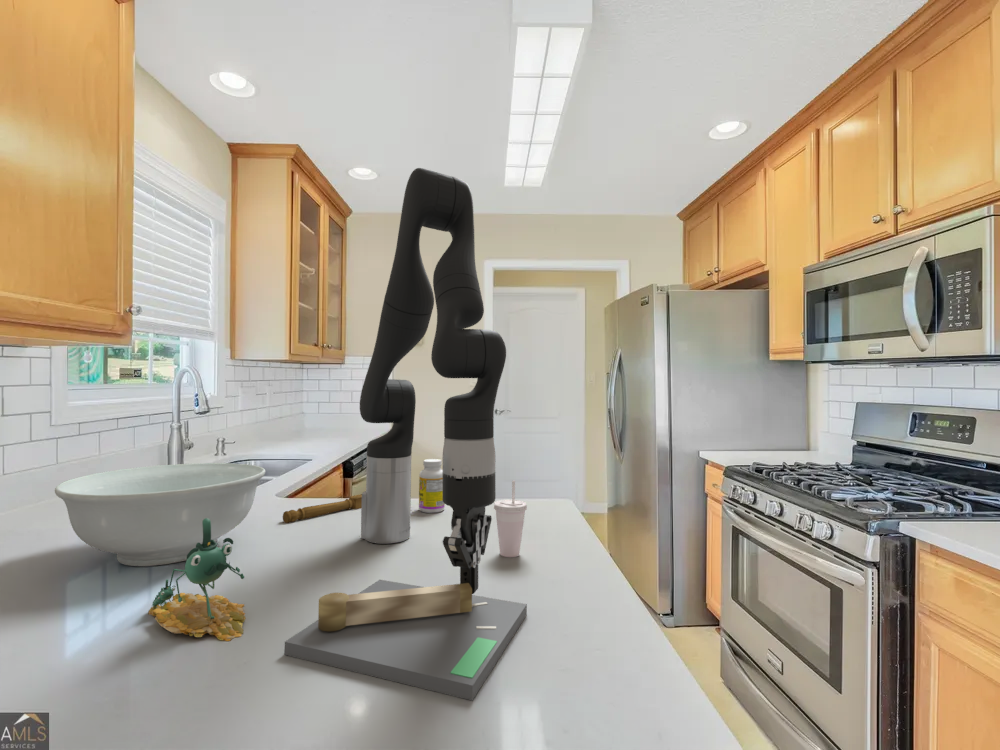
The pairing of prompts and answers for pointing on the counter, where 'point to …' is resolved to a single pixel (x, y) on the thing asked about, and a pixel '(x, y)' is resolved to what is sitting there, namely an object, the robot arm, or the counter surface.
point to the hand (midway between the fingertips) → (469, 591)
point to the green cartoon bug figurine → (199, 610)
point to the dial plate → (419, 645)
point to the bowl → (158, 508)
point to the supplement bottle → (431, 487)
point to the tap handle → (322, 509)
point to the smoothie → (510, 524)
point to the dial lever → (392, 605)
